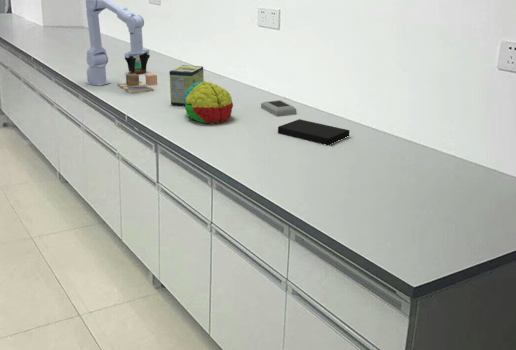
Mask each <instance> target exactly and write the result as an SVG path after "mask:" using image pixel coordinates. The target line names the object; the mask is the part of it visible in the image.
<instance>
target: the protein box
mask: <svg viewBox="0 0 516 350" xmlns="http://www.w3.org/2000/svg"><path fill="white" fill-rule="evenodd" d="M204 79H205V78H204V66H199V65H189V64H188V65H185V64H182V65H179V66H178V67H176V68H173V69H171V70H169V90H170V92H169V93H170V105H171V106H173V107H175V106H176V107H185V106H186V105H185V104H184V96H185V93H186V91H187V89H188V88H190V87H191V86H192V85H193V84H194V83H196V82H202V81H204Z"/></svg>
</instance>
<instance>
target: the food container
mask: <svg viewBox="0 0 516 350" xmlns="http://www.w3.org/2000/svg"><path fill="white" fill-rule="evenodd" d="M133 58H136V60H135V72H131V71H130V68H129V65H128V63H127V62H126V63H127V69H128V74H137V75H139V76H140V75H145V74H147V69H146V70H144V69H142V68H141V61H140V57H139V55H138V56H133Z"/></svg>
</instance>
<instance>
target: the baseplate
mask: <svg viewBox="0 0 516 350" xmlns="http://www.w3.org/2000/svg"><path fill="white" fill-rule="evenodd" d="M139 76H140V74H139V75H137V74H129V73H127V74H125V82H117V83H116V85H117V86H118V87H120V88H121V89H123V91H125V92H127V93H128V94H133V93H134V94H135V93H145V92H153V91H154V88H153V87H151V86H149V85H147V84H146V83H144V82H142V81H140V77H139Z"/></svg>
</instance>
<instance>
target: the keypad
mask: <svg viewBox="0 0 516 350" xmlns="http://www.w3.org/2000/svg"><path fill="white" fill-rule="evenodd" d="M260 109H262V110H264V111H266V112H268V113H269V114H272V115H273V116H274V117H283V116H292V115H297V108H296V107H294V106H293V105H291V104H289V103H287V102H285V101H283V100H281V99H279V100H270V101H264V102H262V103H260ZM291 114H292V115H291Z"/></svg>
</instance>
